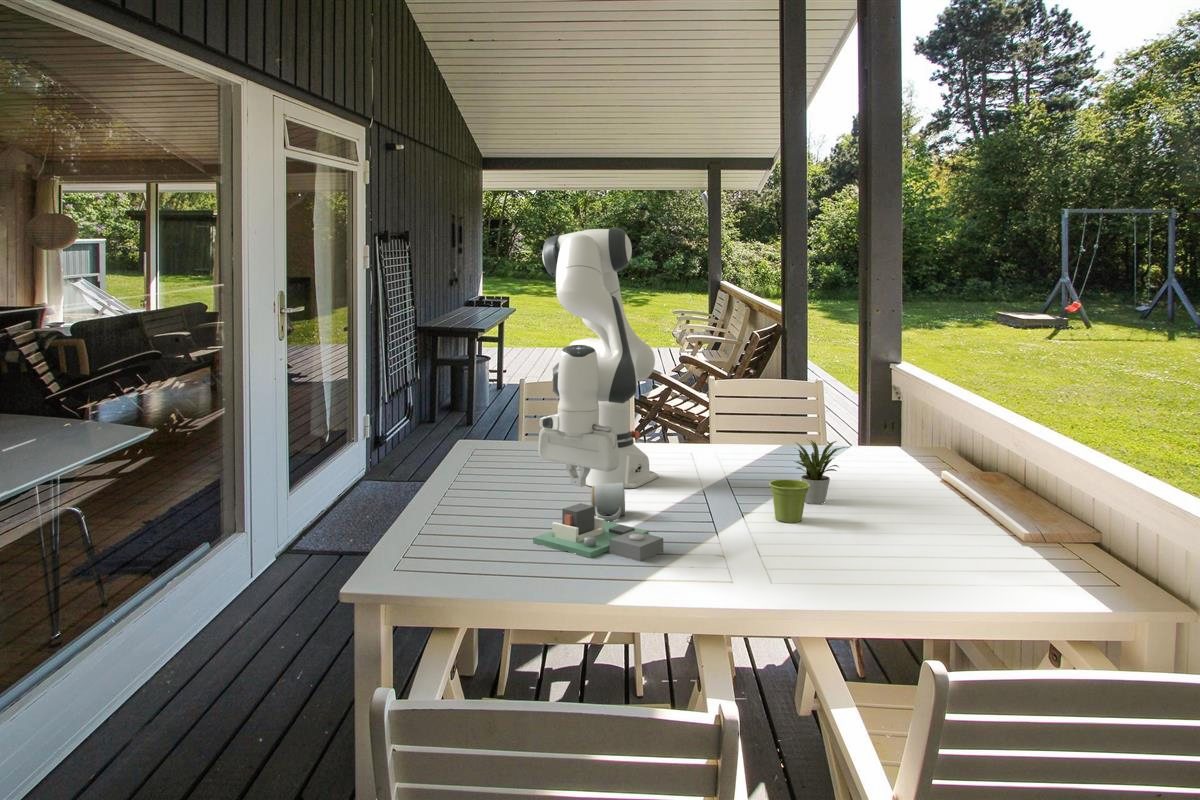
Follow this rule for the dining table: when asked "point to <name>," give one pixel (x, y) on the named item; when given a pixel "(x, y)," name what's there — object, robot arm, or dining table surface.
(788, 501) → the plant pot
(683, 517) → the dining table surface
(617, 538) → the gray push button box
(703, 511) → the dining table surface
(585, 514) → the plug
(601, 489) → the ceramic mug
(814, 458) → the house plant
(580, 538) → the board
